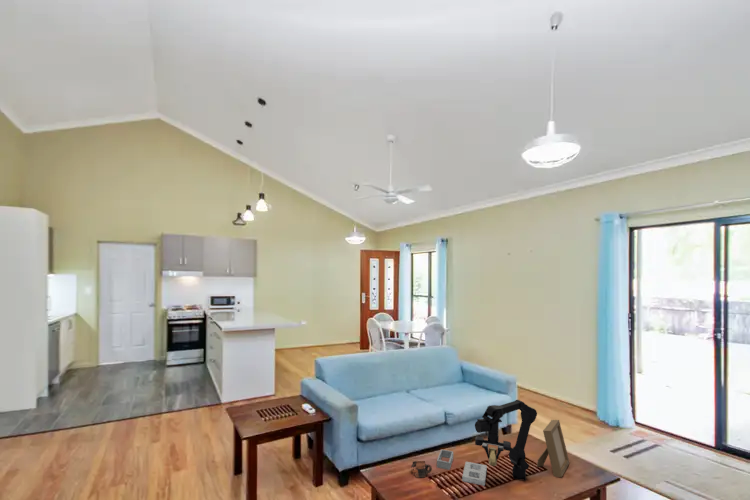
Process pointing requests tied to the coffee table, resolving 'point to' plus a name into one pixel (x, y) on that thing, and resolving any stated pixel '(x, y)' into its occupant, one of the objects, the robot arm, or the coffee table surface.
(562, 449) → the photo frame
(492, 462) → the pale yellow rod
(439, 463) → the gray hollow rectangular block
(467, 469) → the plate
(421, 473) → the pottery mug
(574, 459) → the coffee table surface
